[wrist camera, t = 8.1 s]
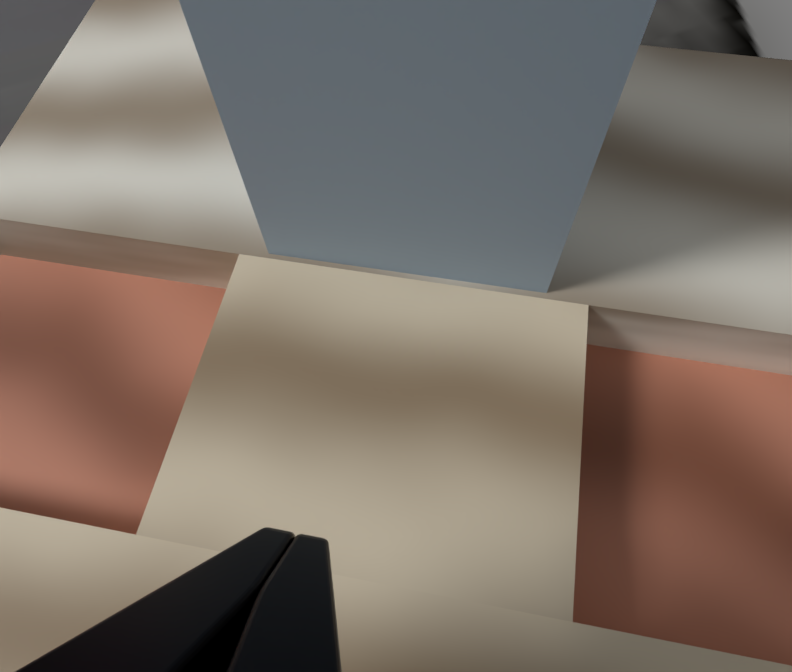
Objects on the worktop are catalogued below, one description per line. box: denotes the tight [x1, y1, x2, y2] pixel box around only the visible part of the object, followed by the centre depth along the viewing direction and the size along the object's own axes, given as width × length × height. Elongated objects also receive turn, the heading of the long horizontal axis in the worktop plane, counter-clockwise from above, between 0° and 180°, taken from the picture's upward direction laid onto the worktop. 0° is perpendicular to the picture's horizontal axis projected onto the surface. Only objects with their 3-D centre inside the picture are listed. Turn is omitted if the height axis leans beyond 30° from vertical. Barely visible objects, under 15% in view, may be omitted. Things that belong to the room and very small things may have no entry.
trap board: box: [0, 0, 792, 672], centre depth 18 cm, size 25×28×2 cm
